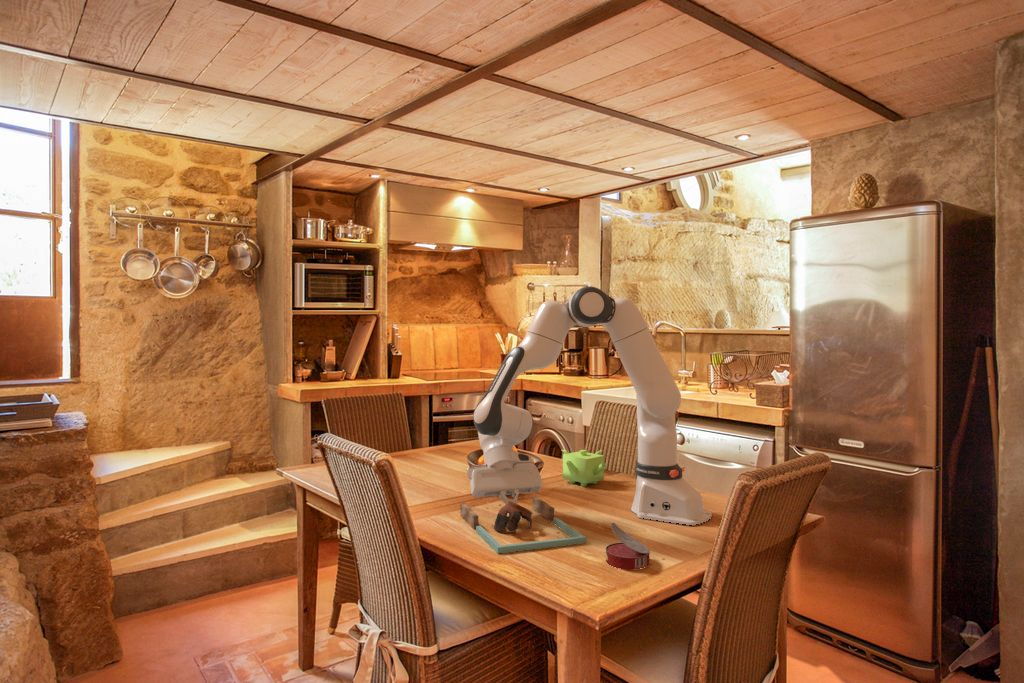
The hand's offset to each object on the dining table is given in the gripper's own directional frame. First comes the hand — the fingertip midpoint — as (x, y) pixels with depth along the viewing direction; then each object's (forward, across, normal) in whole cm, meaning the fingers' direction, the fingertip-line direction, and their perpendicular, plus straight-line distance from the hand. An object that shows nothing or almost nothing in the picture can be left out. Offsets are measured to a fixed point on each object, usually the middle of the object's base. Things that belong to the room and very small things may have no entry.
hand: (512, 507), depth 178 cm
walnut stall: (0, 0, +6) cm, 6 cm away
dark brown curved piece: (+7, -2, -1) cm, 8 cm away
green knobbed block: (-21, +39, +28) cm, 52 cm away
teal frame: (+12, 0, -6) cm, 13 cm away
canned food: (+28, +15, -22) cm, 39 cm away
